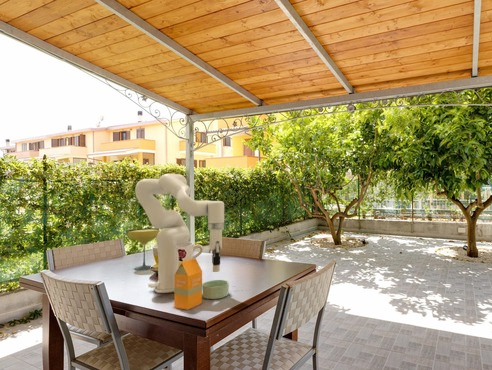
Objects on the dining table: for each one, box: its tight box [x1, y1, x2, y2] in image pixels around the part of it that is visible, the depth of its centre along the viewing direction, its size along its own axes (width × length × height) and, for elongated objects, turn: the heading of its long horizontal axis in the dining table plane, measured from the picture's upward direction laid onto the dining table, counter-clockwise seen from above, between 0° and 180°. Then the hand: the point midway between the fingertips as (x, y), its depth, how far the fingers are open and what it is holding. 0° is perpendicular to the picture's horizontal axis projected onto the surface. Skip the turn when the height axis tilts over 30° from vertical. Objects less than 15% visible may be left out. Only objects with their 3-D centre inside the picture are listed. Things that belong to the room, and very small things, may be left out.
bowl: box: [202, 279, 230, 300], centre depth 155 cm, size 12×12×6 cm
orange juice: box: [173, 258, 203, 310], centre depth 142 cm, size 8×9×20 cm
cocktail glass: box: [127, 227, 161, 271], centre depth 208 cm, size 18×18×25 cm
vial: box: [212, 251, 221, 273], centre depth 155 cm, size 3×3×9 cm
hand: (216, 263), depth 155 cm, fingers closed on vial, 3 cm apart
